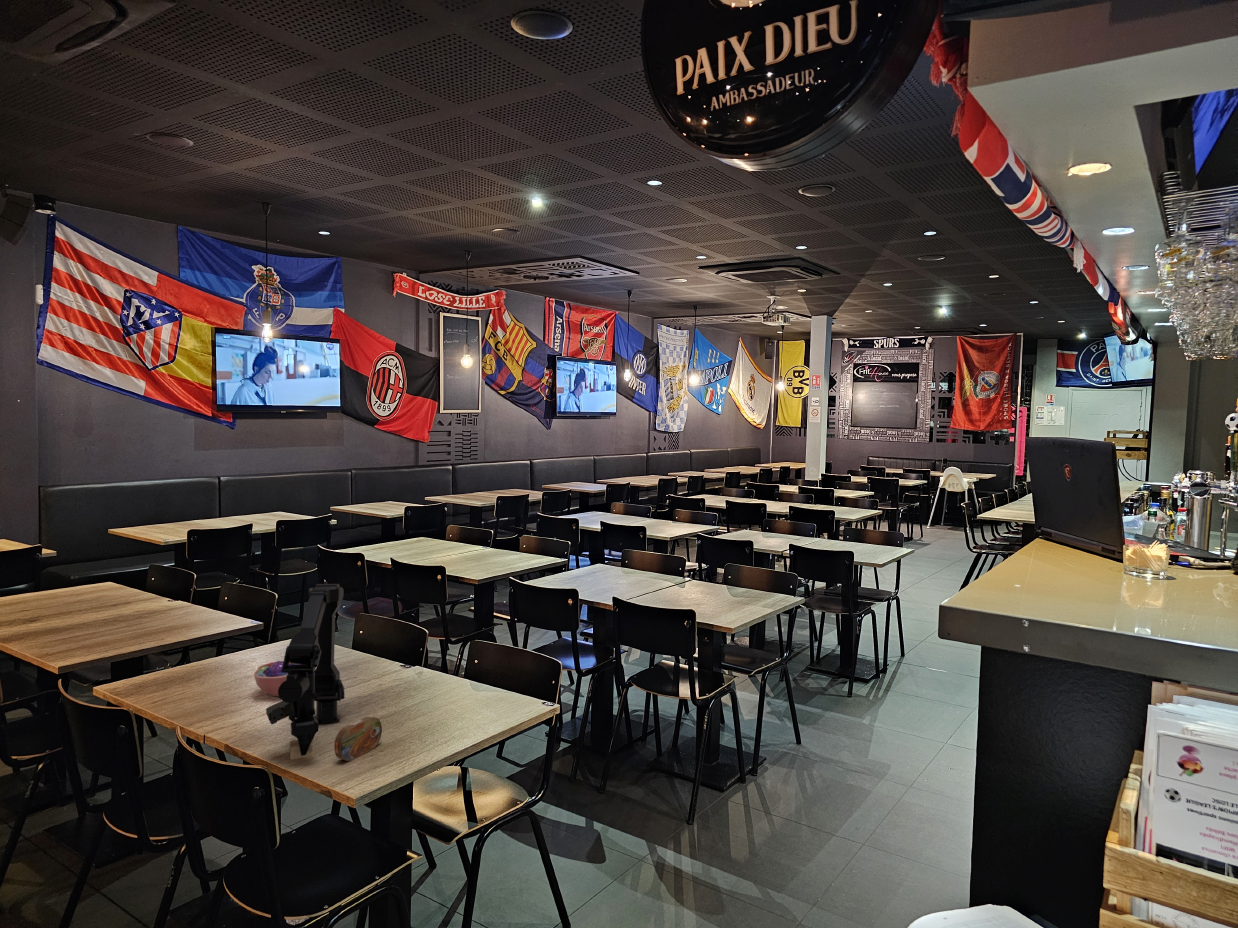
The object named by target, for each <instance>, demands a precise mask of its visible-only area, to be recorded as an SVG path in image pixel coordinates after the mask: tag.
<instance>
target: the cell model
mask: <svg viewBox="0 0 1238 928" xmlns="http://www.w3.org/2000/svg"><path fill="white" fill-rule="evenodd" d="M283 662H284V660H281V661H280V660H277V661H274V662H268V663H265V664H262V665H259V666H258V667H257V670H256V671H255V672H254V674H253V677H254V680H255V685H256V687H258V688H259V689H260V690H261V691H263V693H265V694H266V695H270V696H272V697H276V698H278V697H279V695H278V689H279V686H280V685H281V684H282V683H283V682H284V681H285V680H286V679H287V675H288V672H282V666H283ZM288 665H299V664H291V663H290V661H289V664H288ZM279 698H280V697H279Z"/></svg>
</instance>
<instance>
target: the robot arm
mask: <svg viewBox="0 0 1238 928" xmlns="http://www.w3.org/2000/svg"><path fill="white" fill-rule="evenodd" d="M343 599H344V588H343V587H342V586H340V583H317V584H315V586H314V587H310V588H308V595H307V600H308V602H307V604H306V608H305V612H304V614H303V618H302V620H301V624H300V626H299V627H300V628H299V630H298V631H297V632H296V633H295V634H294V635H293V636H292V637H291V639H290V642H289V644H288V645H287V647H286V648H285V652H284V657H283V661H284V662H283V666H282V672H288V675H287V679H286V680H285V681H284V682H283V683H282V684H281V685H280V686H279V689H278V695H279V699H280V700H281V701H278V702H277V703H274V704H273V705H272V704H271V705H270V706H269V707H267V708H266V709H265V712H266V713H265V714H266V716H267V718H268V721H269V723H270V725H274V724H277V723H278V722H279V721H281V720H283V719H286V718H287V717H288V720H289V721H291V722H290V733H291V734H290V735H291V736H293V737H295V738H297V740H298V743H299V748H300V752H301V756H303V755H306V753H307V751H308V749H309V747H310V744H311V742H313V740H314V738H315V736H316V734H317V733H318V732H319V725H324V724H330V723H331V724H332V723H337V722H340V721H341V719H340V716H339V713H338V702H341V700H343V699H345V687H344V684H343V682H342V679H341V675H340V674H341V673H340V671H339V669H338V668H337V666H336V665H335V643H336V642H335V638H336V637H335V636H336V635H335V633H336V631H335V630H336V613H337V611H338V609H340V607H341V605H342V601H343ZM289 661H290V663H291V664H299V665H288V664H289ZM315 702H316V704H315ZM315 705H316V707H315Z"/></svg>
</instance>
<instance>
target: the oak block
mask: <svg viewBox="0 0 1238 928" xmlns="http://www.w3.org/2000/svg"><path fill="white" fill-rule="evenodd" d="M312 742H313V741H312ZM312 742H311V744H310V747H309V749H308V751H307V753H306V755H303V756H301V752H300V748H299V743H298V739H294V740H289V756H290V760H291V761H292V760H297V759H304V758H309V757H312V756H313V743H312Z"/></svg>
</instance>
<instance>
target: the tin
mask: <svg viewBox="0 0 1238 928" xmlns="http://www.w3.org/2000/svg"><path fill="white" fill-rule="evenodd" d="M382 733H383V726H382V723H381V720H380V719H379V718H378V717H376V716H373V717H372V716H371V717H370V716H365V717H362V718H361V719H359V720H356V721H354V722H352V723H351V724H348V725H346V726H344V727H342V728H340V730H339V731H338V733H337V735H336V737H335V738H334V749H333V750H334V754H335V756H336V758H337V759H339V760H342V761H346V762H351V761H354V760H356V759H357V758H359V757H361V756H362V755H364V754H366V753H368V752H370V751H372V750H374V749H376V747H377V746H378V744H379V742H380V741H381V737H382Z"/></svg>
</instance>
